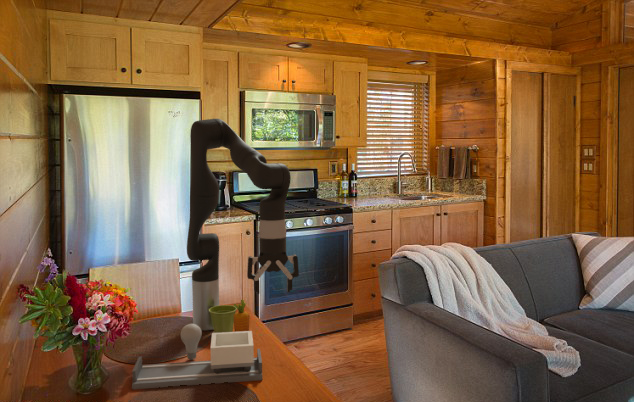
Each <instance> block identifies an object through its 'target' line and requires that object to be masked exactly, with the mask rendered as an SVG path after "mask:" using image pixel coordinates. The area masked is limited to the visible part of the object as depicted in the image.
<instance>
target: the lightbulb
mask: <svg viewBox="0 0 634 402" xmlns="http://www.w3.org/2000/svg"><path fill="white" fill-rule="evenodd" d="M202 334H203V332H202V330H201V329H200V327H199V326H198V325H196V324H193V323H188V324H186V325H184V326H183V327H182V329H181V330H180V340H181V341H182V343H183V344H184V346H185V352H186V356H187V359H188V360H189V361H193V360H194V359H196V358H197V351H198V345H199V342H200V341H201V338H202Z"/></svg>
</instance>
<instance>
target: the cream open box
mask: <svg viewBox="0 0 634 402" xmlns="http://www.w3.org/2000/svg"><path fill="white" fill-rule="evenodd" d="M253 337H254V336H253V331H252V330H249V331H240V332H235V331H233V332H222V333H214V332H212V333H211V339H210V360H211V369H214V372H215V373H216V374H219V373H220V372H221V368H232V367H244V371H246V372H248V371H250V370H251V366H254V358H255V355H254V353H255V351H254V350H255V349H254V339H253Z"/></svg>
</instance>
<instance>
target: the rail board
mask: <svg viewBox="0 0 634 402" xmlns="http://www.w3.org/2000/svg"><path fill="white" fill-rule="evenodd" d="M256 351H257V353H256V354H257V355H256V356H257V357H254V366H251V370H250V371H248V372H246V371H244V367H232V368H221V372H220V373H219V374H216V373H215V372H214V369H211V359H210V360H199V361H185V362H184V361H183V362H168V363H165V362H164V363H153V364H152V363H151V364H143V356H140V355H139V356H138V357H137V360H136V361H135V364H134V366H133V369H132V371H131V374H132V376H131V377H132V384H131V389H132V390H143V389H156V388H159V387H160V388H169V387H168V386H173V387H181V386H180V385H187V386H197V385H199V384H201V385H212V384H211V383H215V384H223V383H224V382H228V383H238V382H240V383H241V382H242V383H243V382H252V381H253V382H254V381H256V382H257V381H263V361H262V359H263V358H262V352H261V348H257V349H256ZM224 384H225V383H224Z"/></svg>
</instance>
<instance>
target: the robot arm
mask: <svg viewBox="0 0 634 402" xmlns="http://www.w3.org/2000/svg"><path fill="white" fill-rule="evenodd" d="M189 134H190V135H189V136H190V138H189V139H190V140H189V141H190V158H191V161H190V162H191V171H190V172H191V173H190V174H191V176H190V188H189V222H188V230H187V231H188V233H187V239H186V240H187V241H186V254H187V258H188V260H189V261H193V262H194V261H195V262H196V261H197V262H199V261H207V262H206V263H205V264H204V265H203V266H200V267H198V268H196V269H194V270H193V271H192V273H191V286H192V287H191V288H192V289H191V290H192V291H191V292H192V324H196V325H198V326H199V327H200V329H201V331H211V330H214V328H213V322H212V317H211V314H210V312H209V309H210V308H211V307H214V306H218V305H220V278H219V277H220V276H219V275H220V274H219V273H220V269H219V268H220V266H219V265H220V262H219V261H220V260H219V259H220V240H219V237H218V235H217V233H216V232H215V233H214V232H212V233H201V230H202V227H203V226H204V224H205V223H206V221H207V220H209V218H210V217H211V216H212V214H213V213H214V211H215V210H216V209H217V206H218V204H219V195H220V193H219V192H220V186H219V182H218V180H217V178H216V176H215V175H214V173H213V172H212V170H211V169H210V166H209V164H208V159H207V158H208V155H207V154H208V150H213V149H219V148H225V149H227V150H229V155H230V159H231V161H232V163H233V164H234V165H235V167H237V168H238V169H239V170H240V171H242V172H244V173H245V174H246V175H247V177H248V178H249V180H250V181H251V182H252V184H253V185H254V186H255V187H256V188H258V189H261V190H270V192H269V195H268V196H266V197H263V198H262V199H260V202H259V222H258V223H259V224H258V251H259V252H258V256H251V255H249V256H248V257H247V271H246V273H247V277H246V278H247V279H248V280H251V281H253V288H254V289H253V290H254V292H255V293H256V294H257V295H260V278H261V277H262V275H263V274H264V273H265V272H267V273H271V272H272V273H273V272H275V273H276V272H277V273H278V272H281V271H282V272H283V274H284V275H285V276H286V277H287V278H286V292H287V293H291V291H292V290H293V279H295V278H298V277H299V276H300V271H299V259H298V258H299V257H298V256H297V254H295V253H294V254H292V255H288V254H287V226H286V206H285V205H286V202H287V197H288V193H289V190H290V186H291V185H290V184H291V181H292V179H291V178H292V177H291V172H290V170H289V169H290V168H288V166H287V165H286V164H285V163H278V162H277V163H275V162H274V163H268V162H267V159H266V157H265V156H264V155H263V154H262V153H261V152H259V151H257V150H256V149H255V148H253V147H251V146H250V145H249V144H247V143H246V142H245V141H244V140H243V139H242V138H241V137H240V136H239V135H238V133H236V131H234V130H233V128H232V127H231V126H230V125H229V124H228V123H227V122H225V120H223V119H221V118H210V119H209V118H207V119H200V120H196V121H194V122H193V123H192V124H191V127H190V133H189ZM288 261H289V262H290V263H291V264H292V267H293V271H292V272H290V271H289V270H288V268H287V267H286V264H287V262H288ZM256 262H258V264H260V267H259V268H258V270H257V271H256V273H253V266H254V265H256Z"/></svg>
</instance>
